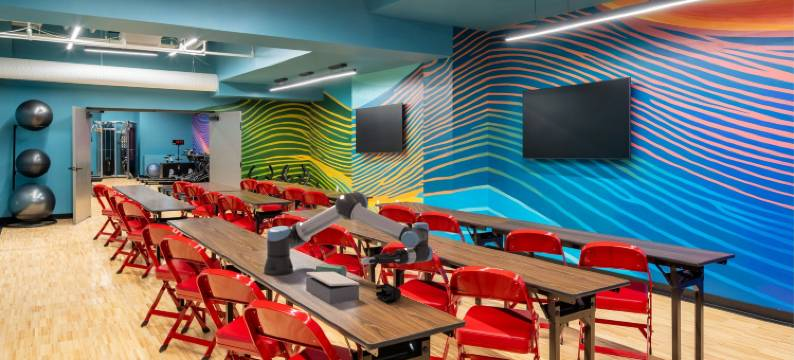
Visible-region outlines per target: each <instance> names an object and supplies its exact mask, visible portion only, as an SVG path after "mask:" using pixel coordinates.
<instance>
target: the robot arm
mask: <svg viewBox="0 0 794 360" xmlns="http://www.w3.org/2000/svg"><path fill="white" fill-rule="evenodd" d="M368 200H369V199H368V198H367V196H366V194H364V192H360V191H353V192H348V193H343V194H341V195H339V196H338V197H337V199H336V201H335V204H334V205H332V206H331V207H329V208H327V209H325V210H323V211H321V212H320V213H317V214H316V215H314V216H312V217H310V218H309V219H307V220H305V221H297V222H296V223H294V224H292V225H290V226H286V225H279V226H274V227H270V228H268V230H267V232H266V260H265V263H264V266H263V274H265V275H270V276H282V275H283V276H284V275H289V274H292V273H294V266H293V262H292V258H291V250H292V249H294V248H298V247H299V248H300V247H302V246H304V245H305V244H306V243H307V242H309V241H310V240H311V238H312V236H314V235H316V234H317V233H320V232H321V231H323V230H325V229H327V228H329V227H331V226H332V225H335V224H337V223H338V222H340V221H342V220H346V221H348V220H349V221H351V222H354V221H356V222H358V223H360V224H361V225H364V226H367V227H369V228H371V229H374V230H375V231H378V232H380V233H382V234H384V235H385V236H388V237H390V238H392V239H395V240H397V241H398V242H401V244H402V245H403V246H404V247H406V248H398V249H395V251H394V252H389V253H387V252H384V253H381V254H380V253H379V254H375V255H371V256H370V257H362V258H361V259H360V261H361V265H365V266H366V265H374V264H379V265H384V264H385V265H386V264H396V265H399V266H400V265H409V266H410V265H411V264H415V263H416V264H417V263H424V262H428V261H432V259H433V258H434V251H433V247H431V246H430V245H429V231H430V229H429V224H428V223H427V222H415V223H413V225H412V226H413V228H410V227H408V226H405V225H404V224H402V223H400V222H397V221H395V220H393V219H390V218H389V217H387V216H384V215H381V214H379V213H377V212H375V211H373V210H371V209H368V207H369V201H368Z"/></svg>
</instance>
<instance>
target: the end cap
mask: <svg viewBox="0 0 794 360" xmlns="http://www.w3.org/2000/svg"><path fill="white" fill-rule="evenodd" d="M375 290H380V291H376V292H375V296H376V300H378V301H379V302H382V303H384V304H385V305H391V304H395V303H397V301H399V300H400V299H401V297H402V291H401V289H400V288H399V287H397V286H395V285H393V284H391V283H388V282H383V284H377V285H376V286H375Z"/></svg>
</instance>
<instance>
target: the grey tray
mask: <svg viewBox="0 0 794 360" xmlns="http://www.w3.org/2000/svg"><path fill="white" fill-rule="evenodd" d="M305 279H306V280H305V283H306V285H305V286H306V287H305V290H306V292H308V293H311V294H312V295H314V296H315V297H317V298H318V299H320V300H322V301H324V302H326V303H328V305H331V304H338V303H339V304H340V303H344V302H349V301H356V300H360V284H359V285H343V286H329V285H327V284H325V283H323V282H321V281H320V280H318V279H316V278H314V277H312V276H309V277H307V276H306V278H305Z"/></svg>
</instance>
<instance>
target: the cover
mask: <svg viewBox="0 0 794 360" xmlns="http://www.w3.org/2000/svg"><path fill="white" fill-rule="evenodd" d="M306 275H308V276H309V277H314V278H316V279H318V280H320V281H321V282H323V283H325V284H327V285H329V286H343V285H359V286H360V282H358V281H355V280H353V279H351V278H348V277H347V276H346V277H345V276H342V275H340V274H338V273H336V272H316V271H307V272H306Z"/></svg>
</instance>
